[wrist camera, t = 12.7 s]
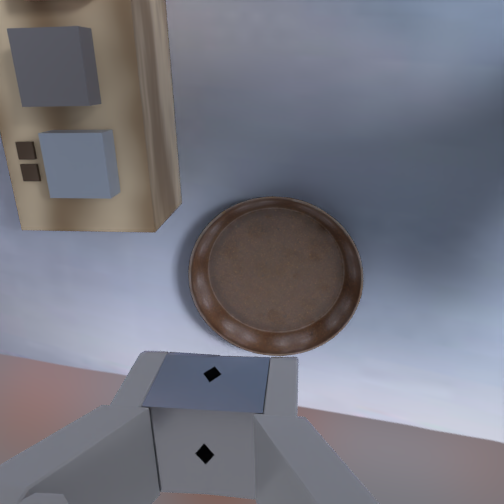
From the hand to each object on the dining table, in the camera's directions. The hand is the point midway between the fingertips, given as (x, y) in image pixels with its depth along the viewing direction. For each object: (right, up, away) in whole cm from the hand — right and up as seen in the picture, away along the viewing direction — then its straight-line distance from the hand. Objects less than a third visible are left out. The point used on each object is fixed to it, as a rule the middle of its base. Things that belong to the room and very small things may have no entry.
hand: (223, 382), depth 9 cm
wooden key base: (-13, +20, +34) cm, 41 cm away
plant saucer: (+3, +1, +40) cm, 40 cm away
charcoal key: (-13, +16, +24) cm, 32 cm away
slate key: (-13, +10, +28) cm, 32 cm away
